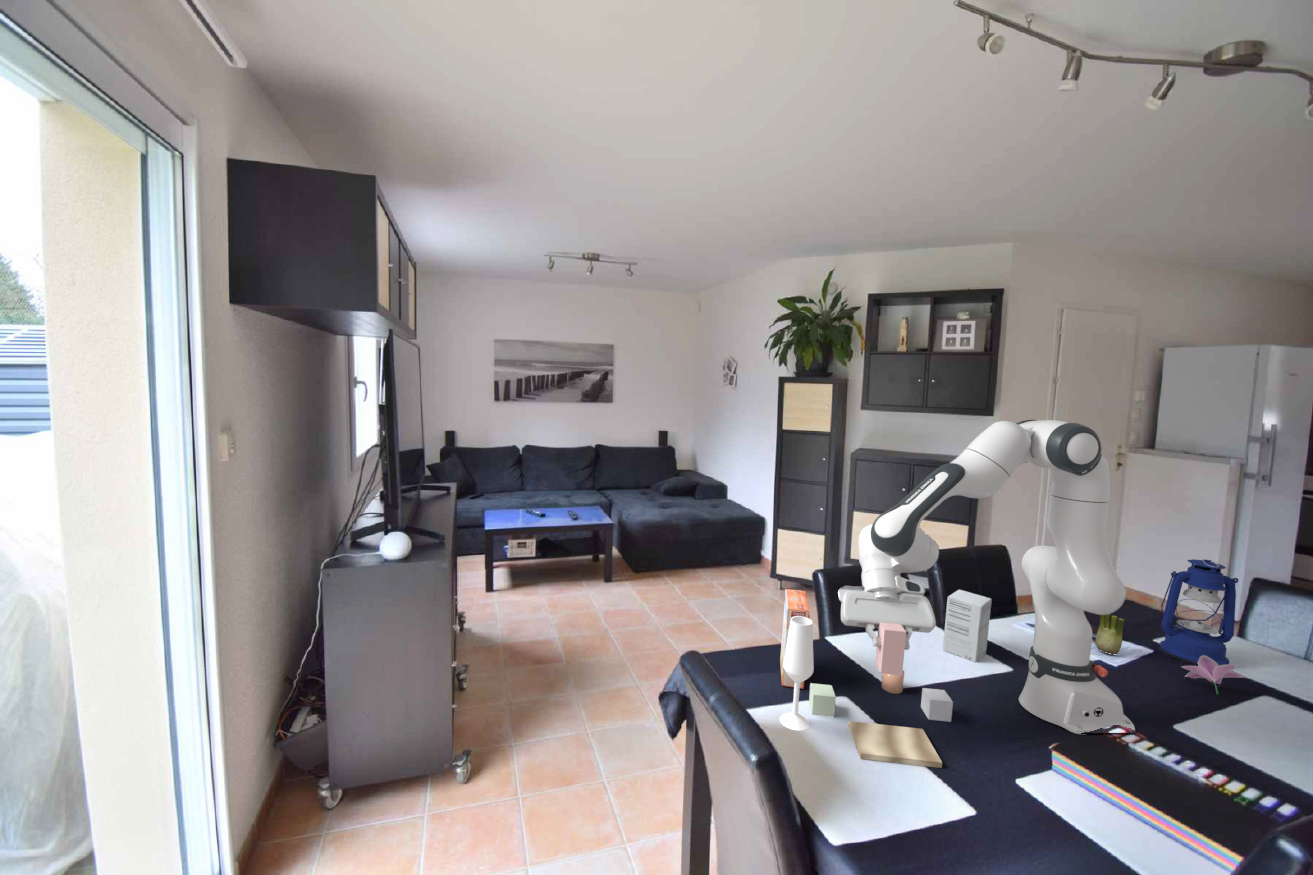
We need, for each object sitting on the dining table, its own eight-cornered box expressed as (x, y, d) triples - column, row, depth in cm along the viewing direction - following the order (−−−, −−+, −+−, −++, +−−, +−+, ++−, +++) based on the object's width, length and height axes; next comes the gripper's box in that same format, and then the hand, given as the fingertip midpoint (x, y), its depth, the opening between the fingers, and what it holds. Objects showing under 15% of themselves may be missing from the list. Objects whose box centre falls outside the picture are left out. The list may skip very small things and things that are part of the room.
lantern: (1173, 663, 160) (1187, 563, 157) (1144, 640, 174) (1156, 549, 171) (1247, 674, 155) (1263, 572, 152) (1211, 649, 169) (1225, 556, 166)
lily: (1252, 702, 142) (1242, 663, 146) (1246, 698, 136) (1236, 657, 139) (1190, 696, 151) (1181, 659, 155) (1181, 692, 144) (1173, 653, 148)
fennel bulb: (1122, 658, 162) (1127, 619, 161) (1105, 657, 162) (1110, 618, 161) (1106, 648, 168) (1111, 611, 166) (1090, 647, 168) (1095, 610, 166)
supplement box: (953, 641, 168) (958, 588, 167) (986, 652, 162) (992, 598, 160) (941, 650, 162) (946, 595, 160) (975, 663, 155) (981, 606, 154)
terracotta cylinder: (898, 684, 142) (900, 665, 142) (905, 694, 138) (907, 675, 137) (879, 682, 143) (880, 663, 143) (884, 692, 138) (886, 673, 138)
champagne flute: (810, 716, 127) (817, 617, 124) (808, 733, 120) (816, 629, 118) (781, 710, 129) (787, 612, 126) (777, 726, 123) (784, 623, 120)
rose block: (895, 665, 124) (899, 622, 123) (902, 675, 120) (906, 631, 119) (875, 663, 125) (878, 621, 124) (880, 673, 120) (884, 629, 119)
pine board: (922, 733, 122) (922, 728, 122) (941, 768, 111) (942, 762, 111) (848, 726, 124) (848, 721, 124) (860, 758, 113) (860, 753, 113)
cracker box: (805, 690, 138) (810, 610, 136) (780, 686, 139) (786, 607, 137) (801, 663, 151) (807, 590, 149) (779, 660, 153) (784, 587, 150)
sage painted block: (830, 704, 132) (831, 685, 131) (834, 717, 127) (835, 697, 126) (808, 702, 132) (810, 683, 132) (812, 715, 128) (813, 694, 127)
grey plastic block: (942, 709, 132) (944, 690, 131) (951, 722, 127) (953, 701, 126) (920, 707, 132) (922, 687, 132) (928, 720, 127) (930, 699, 127)
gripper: (840, 579, 128) (845, 638, 120) (931, 586, 126) (944, 647, 117) (834, 590, 133) (840, 647, 125) (922, 597, 131) (934, 656, 122)
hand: (891, 647), depth 121 cm, fingers closed on rose block, 4 cm apart
